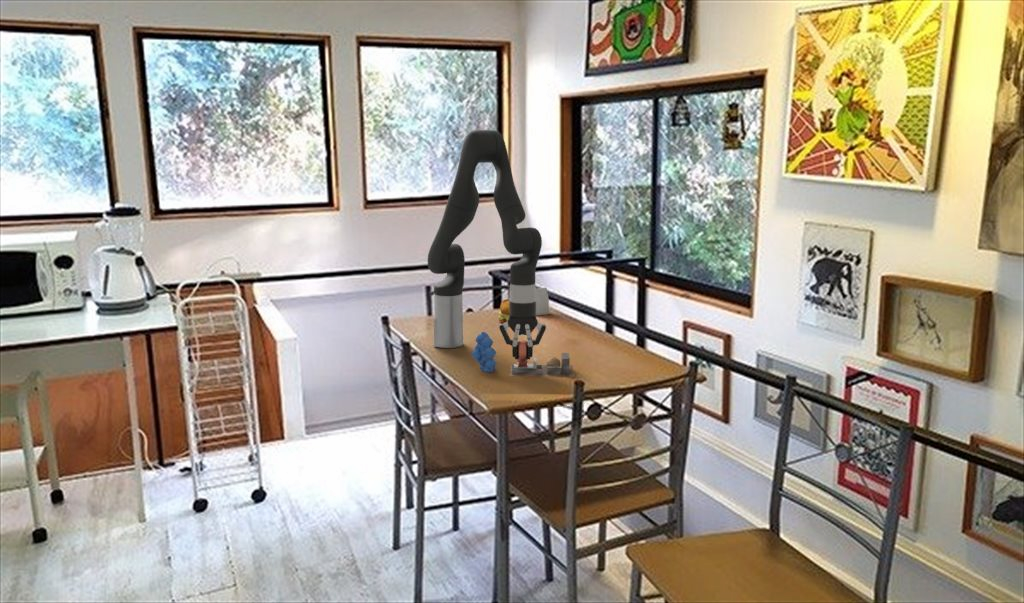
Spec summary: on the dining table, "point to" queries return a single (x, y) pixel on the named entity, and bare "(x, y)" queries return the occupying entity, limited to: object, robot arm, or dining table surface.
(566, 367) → the base
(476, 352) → the grapes
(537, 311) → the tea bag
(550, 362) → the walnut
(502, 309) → the cheeseburger
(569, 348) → the dining table surface
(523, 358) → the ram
